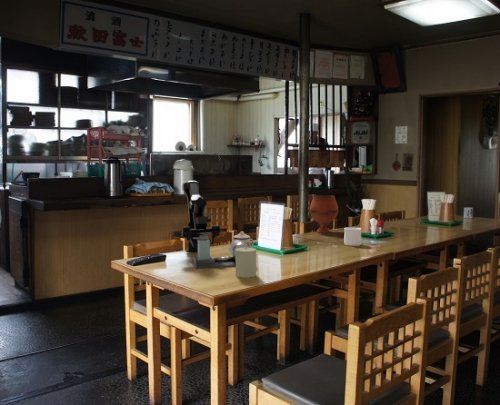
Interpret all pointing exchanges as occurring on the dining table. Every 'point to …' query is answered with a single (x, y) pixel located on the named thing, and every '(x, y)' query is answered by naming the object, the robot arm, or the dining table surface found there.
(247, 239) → the teacup with lid
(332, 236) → the dining table surface
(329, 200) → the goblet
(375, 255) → the dining table surface
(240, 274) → the can
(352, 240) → the cup
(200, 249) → the pale teal bottle
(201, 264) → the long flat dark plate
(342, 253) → the dining table surface
